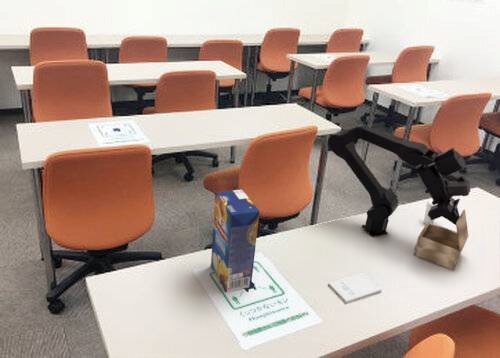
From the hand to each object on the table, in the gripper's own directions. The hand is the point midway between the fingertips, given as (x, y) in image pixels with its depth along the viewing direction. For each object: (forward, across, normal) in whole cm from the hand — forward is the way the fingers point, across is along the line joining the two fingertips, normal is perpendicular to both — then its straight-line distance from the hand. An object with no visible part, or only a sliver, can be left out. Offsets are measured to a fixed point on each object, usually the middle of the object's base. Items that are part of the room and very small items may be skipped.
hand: (460, 225), depth 140 cm
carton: (+6, 0, +11) cm, 13 cm away
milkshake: (+2, +18, +16) cm, 25 cm away
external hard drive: (-3, -33, +22) cm, 40 cm away
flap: (+1, 0, 0) cm, 1 cm away
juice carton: (-24, -51, +43) cm, 71 cm away
